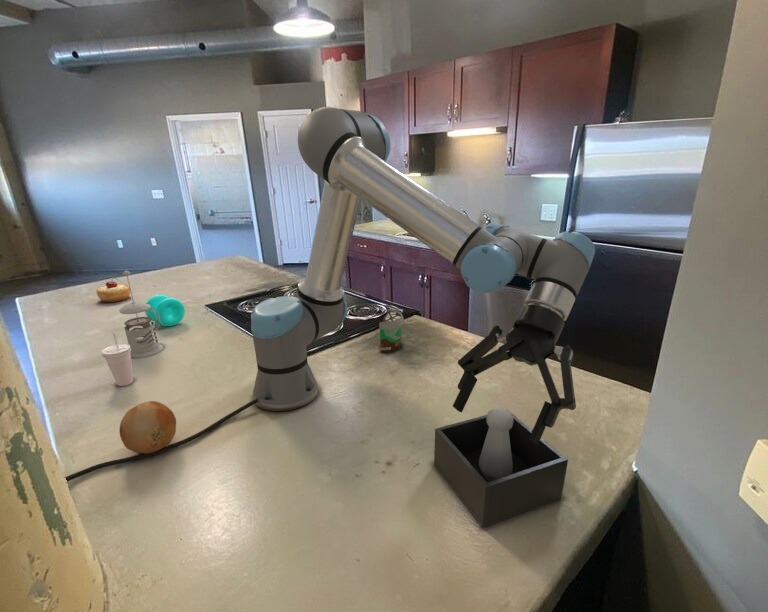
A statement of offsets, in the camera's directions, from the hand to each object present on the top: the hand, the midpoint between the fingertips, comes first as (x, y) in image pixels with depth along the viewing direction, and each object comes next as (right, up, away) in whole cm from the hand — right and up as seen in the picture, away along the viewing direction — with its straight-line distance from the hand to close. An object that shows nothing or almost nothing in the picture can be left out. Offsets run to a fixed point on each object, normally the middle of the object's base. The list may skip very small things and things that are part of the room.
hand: (492, 425), depth 67 cm
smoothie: (-85, +1, +41) cm, 95 cm away
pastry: (-131, +26, +109) cm, 173 cm away
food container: (-15, +9, +59) cm, 62 cm away
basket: (+2, -11, +6) cm, 13 cm away
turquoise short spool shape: (-95, +16, +81) cm, 126 cm away
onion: (-64, -9, +16) cm, 66 cm away
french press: (-90, +8, +61) cm, 109 cm away
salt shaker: (+2, -10, +6) cm, 12 cm away
